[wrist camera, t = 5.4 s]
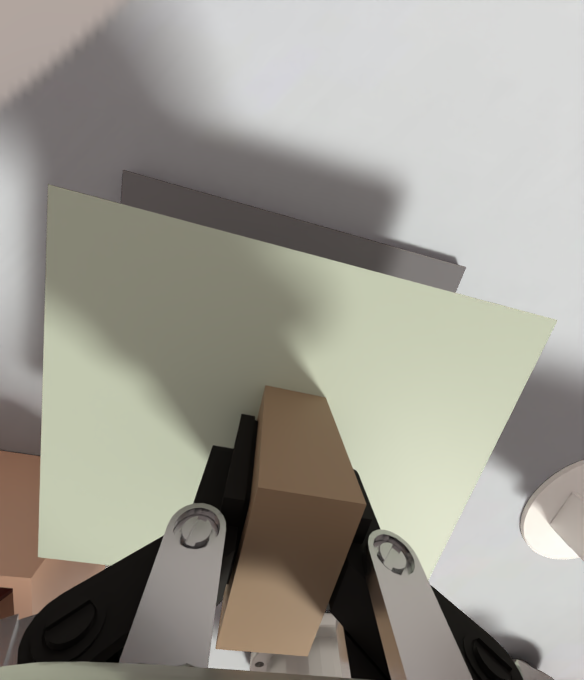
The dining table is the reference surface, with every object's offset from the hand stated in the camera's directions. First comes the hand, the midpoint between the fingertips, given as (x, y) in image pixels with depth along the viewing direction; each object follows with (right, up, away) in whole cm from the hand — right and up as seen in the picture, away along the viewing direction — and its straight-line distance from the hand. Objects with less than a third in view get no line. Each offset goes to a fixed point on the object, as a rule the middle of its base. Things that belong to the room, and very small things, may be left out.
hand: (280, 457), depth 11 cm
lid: (0, 0, +1) cm, 1 cm away
